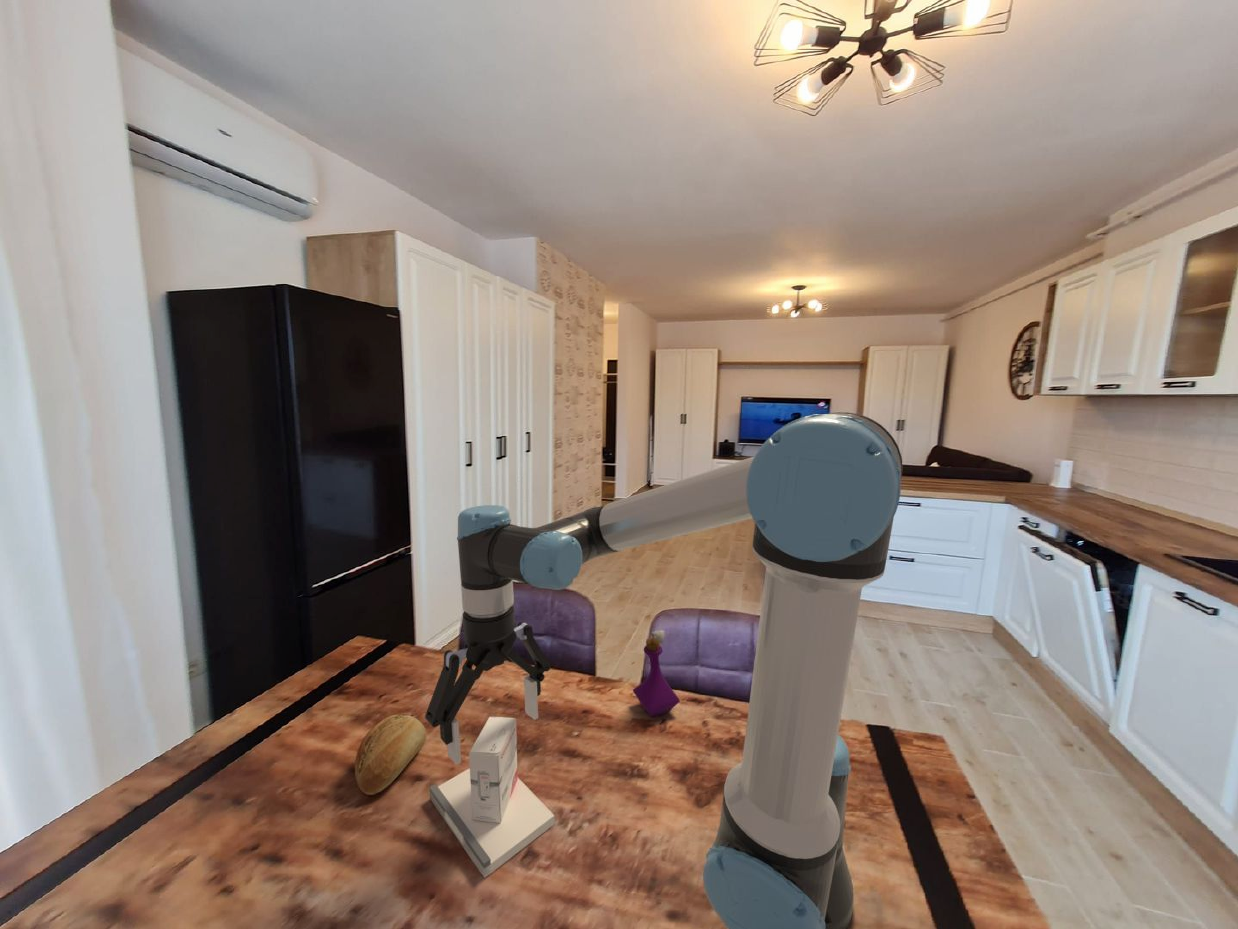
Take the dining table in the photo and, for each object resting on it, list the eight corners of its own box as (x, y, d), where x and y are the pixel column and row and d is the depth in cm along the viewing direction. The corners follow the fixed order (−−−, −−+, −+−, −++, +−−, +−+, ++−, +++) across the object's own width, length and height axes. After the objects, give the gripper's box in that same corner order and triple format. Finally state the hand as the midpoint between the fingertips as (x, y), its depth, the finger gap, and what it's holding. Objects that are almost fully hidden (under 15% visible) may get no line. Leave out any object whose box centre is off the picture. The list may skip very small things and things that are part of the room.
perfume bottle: (632, 703, 103) (632, 626, 100) (662, 694, 106) (663, 619, 103) (648, 725, 96) (649, 642, 93) (679, 715, 99) (682, 634, 96)
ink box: (491, 776, 81) (489, 713, 79) (519, 779, 80) (517, 715, 79) (470, 821, 72) (467, 752, 71) (501, 824, 72) (499, 754, 70)
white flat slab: (554, 824, 74) (554, 811, 73) (483, 879, 65) (482, 864, 65) (495, 760, 86) (494, 749, 86) (429, 800, 78) (428, 787, 78)
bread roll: (338, 799, 78) (334, 755, 77) (391, 735, 93) (389, 698, 92) (392, 805, 77) (389, 761, 76) (437, 739, 92) (435, 702, 91)
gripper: (541, 579, 83) (546, 691, 86) (393, 627, 66) (405, 766, 68) (568, 590, 78) (572, 709, 80) (415, 647, 60) (426, 796, 63)
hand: (495, 736), depth 74 cm, fingers open, 13 cm apart
